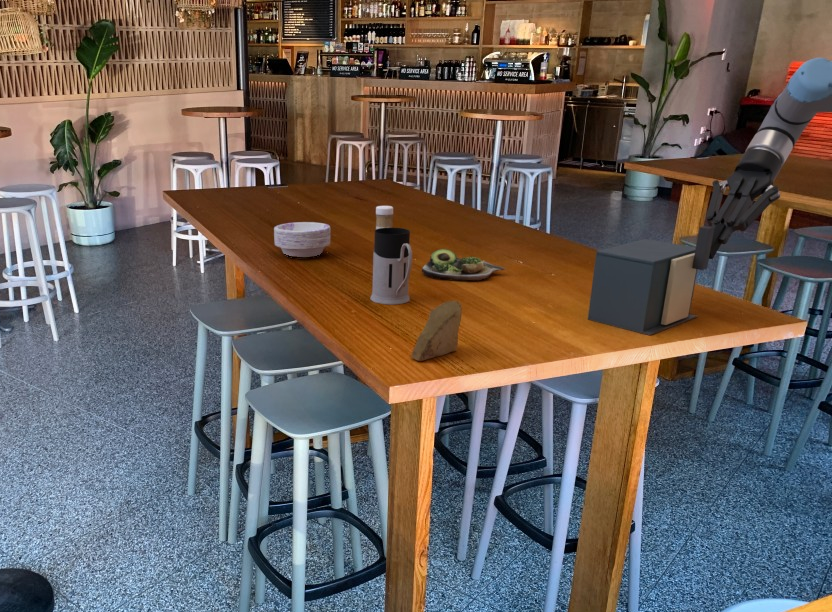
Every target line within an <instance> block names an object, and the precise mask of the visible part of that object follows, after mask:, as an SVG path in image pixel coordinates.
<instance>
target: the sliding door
mask: <svg viewBox="0 0 832 612" xmlns="http://www.w3.org/2000/svg"><path fill="white" fill-rule="evenodd" d="M713 233H714V227H711V226H709V225H703V226H699V228H698V234H697V238H696V244H695V247H696V249H695V253H692V254H689V255H685V256H682V257H679V258H675V259H672V260H671V266H670V272H669V278H668V284H667V290H666V296H665V302H664V308H663V314H662V320H661V324H663V325H667V324H670V323H672V322H675V321H678V320H680V319H683V318H686V317H688V314H689V308H690V303H691V297H692V291H693V286H694V280H695V275H696V269H697V270H698V271H703V270H707V269H708V266H709V265H708V264H709V260H710V259H709V255H710V249H711V244H712V238H713ZM696 276H697V275H696ZM694 287H695V286H694ZM692 298H693V297H692ZM691 304H692V303H691ZM690 309H691V308H690Z"/></svg>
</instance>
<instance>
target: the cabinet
mask: <svg viewBox="0 0 832 612" xmlns="http://www.w3.org/2000/svg"><path fill="white" fill-rule="evenodd" d="M695 249H696V246H691V245H686V244H685V245H684V244H678V243H673V242H666V241H660V240H654V239H650V238H649V239H648V238H644V239H640V240H639V239H638V240H635V241H631V242H627V243H624V244H618V245H616V246H612V247H606V248H603V249H599V250H596V253H595V259H594V266H593V267H594V268H593V275H592V283H591V292H590V297H589V298H590V299H589V306H588V313H587V320H588V321H593V322H596V323H599V324H604V325H608V326H612V327H615V328H619V329H623V330H627V331H631V332H635V333H639V334H643V335H645V336H646V335H647V336H653V335H656V334H658V333H661V332H663V331H666V330H668V329H671V328H674V327H676V326H679V325H681V324H684V323H687V322H689V321H693V320H694V319H697V318H698V315H696V314H692V313H691V309H692V303H693V296H694V291H695V287H696V286H695V285H696V280H697V274H698V269H696V275H695V280H694V286H693V291H692V297H691V303H690V308H689V314H688V317H686V318H683V319H680V320H678V321H675V322H672V323H670V324H667V325H663V324H661V320H662V314H663V308H664V302H665V296H666V290H667V284H668V278H669V272H670V266H671V260H672V259H675V258H679V257H682V256H685V255H689V254H692V253H695ZM690 313H691V314H690Z"/></svg>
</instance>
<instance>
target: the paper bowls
mask: <svg viewBox="0 0 832 612" xmlns="http://www.w3.org/2000/svg"><path fill="white" fill-rule="evenodd" d="M273 237H274V239H273V240H274V242H273V243H274V246H275V247H278V248H280V249H281V251H282V253H283V255H284V254H286V255H289V256H297V257H310V256H317V255H319V256H320V254H321V253H322V254H323V251H324V250H325V247H328V246H330V245H331V226H330V225H329V224H327V223H322V222H314V221H301V222H299V221H298V222H287V223H281V224H278V225H276V226H274V228H273ZM322 254H321V255H322ZM286 255H285V256H286ZM317 257H318V256H317Z"/></svg>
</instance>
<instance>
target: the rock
mask: <svg viewBox="0 0 832 612" xmlns="http://www.w3.org/2000/svg"><path fill="white" fill-rule="evenodd" d="M462 309H463V308H462V305H461V304H460V302H459V300H455V301H453V300H448V301H445V302H443V303H441V304H440V305H437V307H435V308H433V309H431V310H430V311H429V316H428V319H427V321H426V323H425V325H424V327H423V330H422V332H420V334H419V336H418V337H417V340H416V343H415V346H414V348H413V349H412V352H411V354H410V358H412V359H413V360H416V361H417V362H423V361H426V360H430V359H434V358H437V357H440V356H445V355H447V354H449V353H453V352H456V351H457V349H458V344H459V329H460V326H461V321H462Z"/></svg>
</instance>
